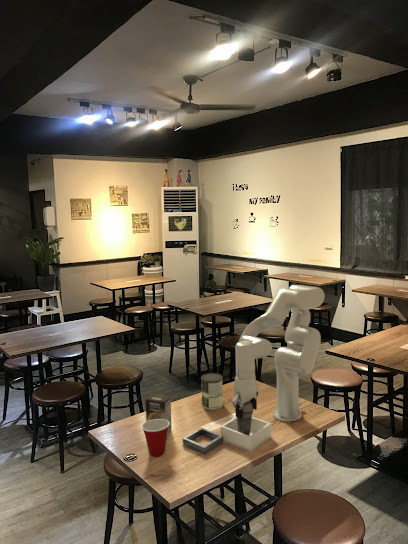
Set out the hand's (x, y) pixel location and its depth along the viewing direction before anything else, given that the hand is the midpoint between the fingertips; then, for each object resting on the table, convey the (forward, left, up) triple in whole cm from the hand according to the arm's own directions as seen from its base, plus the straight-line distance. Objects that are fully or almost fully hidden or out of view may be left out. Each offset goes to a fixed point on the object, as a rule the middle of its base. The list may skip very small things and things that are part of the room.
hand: (246, 413), depth 177 cm
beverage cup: (+1, 0, -10) cm, 10 cm away
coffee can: (-16, -31, -11) cm, 37 cm away
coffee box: (+19, -31, -11) cm, 38 cm away
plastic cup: (+30, -21, -11) cm, 39 cm away
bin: (0, 0, -11) cm, 11 cm away
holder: (+14, -11, -11) cm, 21 cm away
